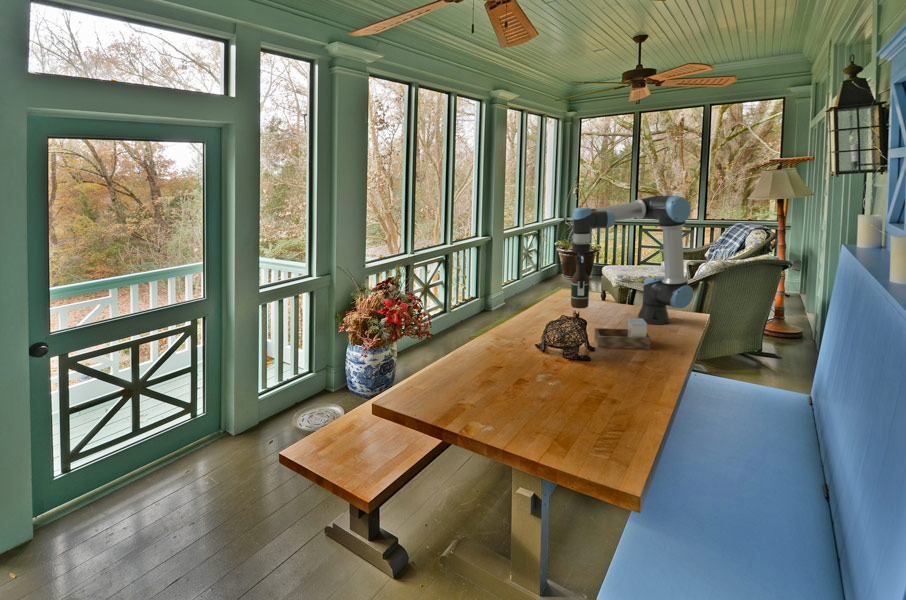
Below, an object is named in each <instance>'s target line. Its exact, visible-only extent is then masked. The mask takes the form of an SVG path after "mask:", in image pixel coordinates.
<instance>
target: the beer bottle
mask: <svg viewBox="0 0 906 600" xmlns="http://www.w3.org/2000/svg"><path fill="white" fill-rule="evenodd" d="M577 254H578V253H577ZM577 254H576V256H579V254H578V255H577ZM584 256H586V253H584ZM578 279H579V271H578V266H577V265H576V268H575V272H574V274H572V278H571V290H570V305H571V307H572V308H574V309H587V308H588V307H589V301H590V300H589V296H590V278H589V275H588V274H587V272H586V270H585V281H584V296H578V281H577V280H578Z"/></svg>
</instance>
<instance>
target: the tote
mask: <svg viewBox="0 0 906 600" xmlns="http://www.w3.org/2000/svg"><path fill="white" fill-rule="evenodd" d="M593 334H594V337H593V340H594V342H595V344H596V346H597V348H600V349H601V348H603V349H605V348H606V349H633V350H650V349H651V340H652V339H651V336H650V335H649V334H648V332H646V337H628V328H605V327H602V328H599V327H595V328H594V333H593Z"/></svg>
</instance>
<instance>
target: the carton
mask: <svg viewBox="0 0 906 600" xmlns="http://www.w3.org/2000/svg"><path fill="white" fill-rule="evenodd" d="M627 320H628V322H627V323H628V324H627V329H628V337H646V333H648V332H647V329H648V328H647V327H648V325H649V324H647V323H646V322H645V321H644V319H641V318H638V317H637V318H635V317H634V318H633V317H628V318H627Z"/></svg>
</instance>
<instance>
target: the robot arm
mask: <svg viewBox="0 0 906 600" xmlns="http://www.w3.org/2000/svg"><path fill="white" fill-rule="evenodd" d="M691 211H692V210H691V205H690V202H689V201H688V200H687V199H686V197H684V196H678V195H654V196H649V197H645V198H640V199H639V198H638V199H636V200H634V201H633V202H628V203H627V202H626V203H621V204H614V205H607V206H601V207H600V206H599V207H594V208H591V207H576V208H574V209H573V213H572V219H571V220H572V222H573V223H572V225H573V226H572V227H573V228H572V233H573V235H571V238H572V252H574V253H577V254H576V255H575V259H576V267H577V266H578V271H579V279H578V280H577V281H578V296H584V281H585V271H586V260H587V256H586V255H585V256H584V254H586V253H589V252H591V244H590V243H591V235H592V233H591V231H592V230H593V229H594V230H595V229H609V228H612V227H614V225H615V223H616V222H617V221H624V220H631V219H637V220H643V219H644V220H645V219H647V220H654V221H655V220H656V221H658V227H660V228H661V230H662V240H663V241H662V242H663V264H664V267H663V268H664V276H650V277H646V278H644V279H643V280H644V281H643V287H642V293H643V294H642V304H641V305H642V306H641V308H640V311H639V313H638V315H637V318H641V319H644V321H645V322H646V323H647V324H648V325H666V324H668V323H669V322H670V317H669V313H668V309H667V306H668V307H672V308H676V309H684V308H686V307H688V306H689V305H690V303H691V302H692V300H693V298H694V289H693V288H692V286H690V285H688V283H689V281H688V278H687V277H685V268H684V243H683V242H684V241H683V238H684V237H683V227H684V226H685V225H686V221H687V220H688V219H689V217H690V215H691ZM578 254H579V256H577V255H578Z"/></svg>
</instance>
